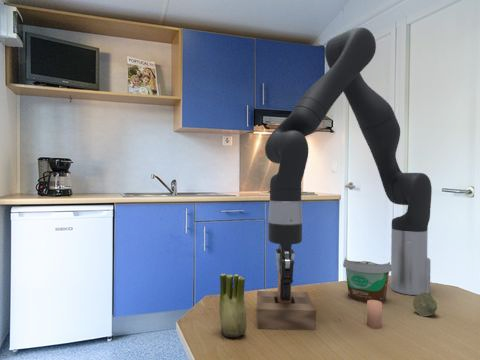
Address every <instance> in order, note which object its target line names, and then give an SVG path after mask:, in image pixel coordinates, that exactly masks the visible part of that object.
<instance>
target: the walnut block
mask: <svg viewBox="0 0 480 360" xmlns="http://www.w3.org/2000/svg"><path fill="white" fill-rule="evenodd" d="M256 296H257V297H256V312H257V313H256V314H257V315H256V316H257V317H256V318H257V329H267V330H268V329H275V330H276V329H279V330H307V331H308V330H309V331H310V330H312V331H313V330H314V331H316V329H317V328H316V327H317V323H316V322H317V310H316V308H315V306H314V303H313V301H312V299H311V297H310V296H309V293H308V292H307V291H291V303H278V290H277V291H276V290H272V291H271V290H268V291H267V290H257V292H256Z"/></svg>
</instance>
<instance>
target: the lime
mask: <svg viewBox="0 0 480 360" xmlns="http://www.w3.org/2000/svg"><path fill="white" fill-rule="evenodd" d="M412 305H413V306H412V307H413V309H414V310H415V312H416V314H418V315H419V316H421V317H429V316H430V317H431V316H433V315H435V314H436V311H437V310H438V303H437V300H436V299H435V298H434V296H433V295H431V293H430V294H427V293H420V294H418V295H415V297H414V298H413V300H412Z"/></svg>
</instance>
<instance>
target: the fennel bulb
mask: <svg viewBox="0 0 480 360" xmlns="http://www.w3.org/2000/svg"><path fill="white" fill-rule="evenodd" d="M219 281H220V282H219V284H220V286H219V287H220V289H219V291H220V292H219V318H220V319H219V320H220V328H221V330H222V334H223V335H224V336H225V337H228V338H238V337H240V336H242V335H244V334H245V332H246V331H247V326H248V325H247V322H248V321H247V312H246V306H245V283H246V281H245V278H244V277H243V276H240V275H239V274H234V275H233V274H226V273H221V274H220V275H219Z"/></svg>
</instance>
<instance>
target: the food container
mask: <svg viewBox="0 0 480 360" xmlns="http://www.w3.org/2000/svg"><path fill="white" fill-rule="evenodd" d="M342 266H343V267H344V268H345V273H346V285H347V295H348V297H349V298H350V299H351V300H353V301H356V302H360V303H364V304H365V303H366V304H367V301H368V300H377V301H380V302H382V303H383V302H385V301H386V300H387V298H386V297H387V292H388V291H387V290H388V284H389V283H388V282H389V276H390V273H391V271H392V267H391V261H389V262H387V263H375V262H372V261H366V260H365V261H364V260H363V261H355V260H349V259H347V257H345V258H344V260H343V264H342Z"/></svg>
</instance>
